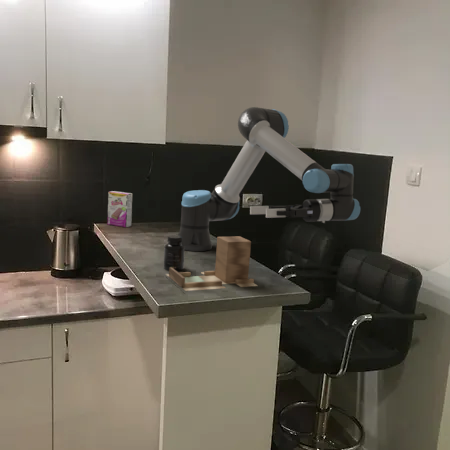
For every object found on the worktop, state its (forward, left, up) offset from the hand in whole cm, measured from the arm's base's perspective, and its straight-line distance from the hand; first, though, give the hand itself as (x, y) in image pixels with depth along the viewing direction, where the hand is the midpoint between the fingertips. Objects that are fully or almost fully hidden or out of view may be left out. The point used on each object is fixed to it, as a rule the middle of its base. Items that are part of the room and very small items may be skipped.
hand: (257, 211), depth 162 cm
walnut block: (+9, -2, -21) cm, 23 cm away
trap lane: (+15, -5, -23) cm, 28 cm away
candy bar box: (-22, -98, -23) cm, 103 cm away
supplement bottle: (+15, -22, -23) cm, 35 cm away
